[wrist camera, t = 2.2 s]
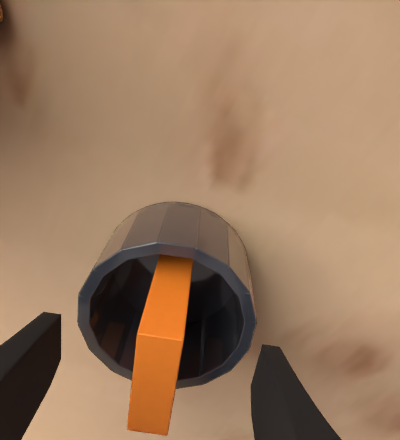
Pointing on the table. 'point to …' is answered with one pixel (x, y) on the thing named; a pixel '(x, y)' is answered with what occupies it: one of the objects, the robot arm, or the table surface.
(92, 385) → the table surface
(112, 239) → the cup
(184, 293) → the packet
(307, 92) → the table surface
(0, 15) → the stuffed squirrel
